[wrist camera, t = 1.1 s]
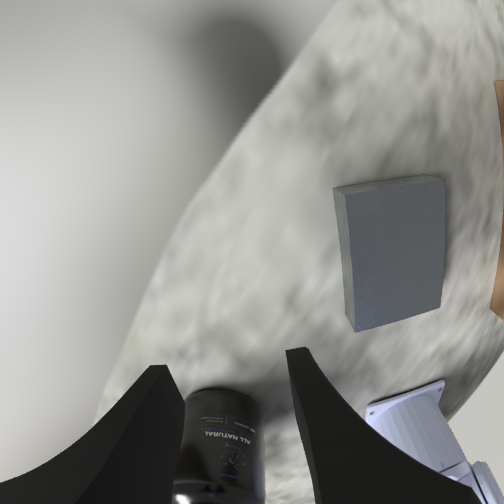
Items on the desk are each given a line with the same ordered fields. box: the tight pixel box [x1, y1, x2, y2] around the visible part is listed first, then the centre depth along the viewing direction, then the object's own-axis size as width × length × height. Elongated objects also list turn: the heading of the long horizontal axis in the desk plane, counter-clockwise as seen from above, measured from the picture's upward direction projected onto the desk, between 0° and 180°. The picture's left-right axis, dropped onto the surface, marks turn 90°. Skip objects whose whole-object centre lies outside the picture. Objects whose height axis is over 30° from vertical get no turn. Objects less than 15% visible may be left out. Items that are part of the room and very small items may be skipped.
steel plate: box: [333, 174, 446, 333], centre depth 16 cm, size 8×6×2 cm
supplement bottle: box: [172, 389, 266, 504], centre depth 16 cm, size 7×7×12 cm
